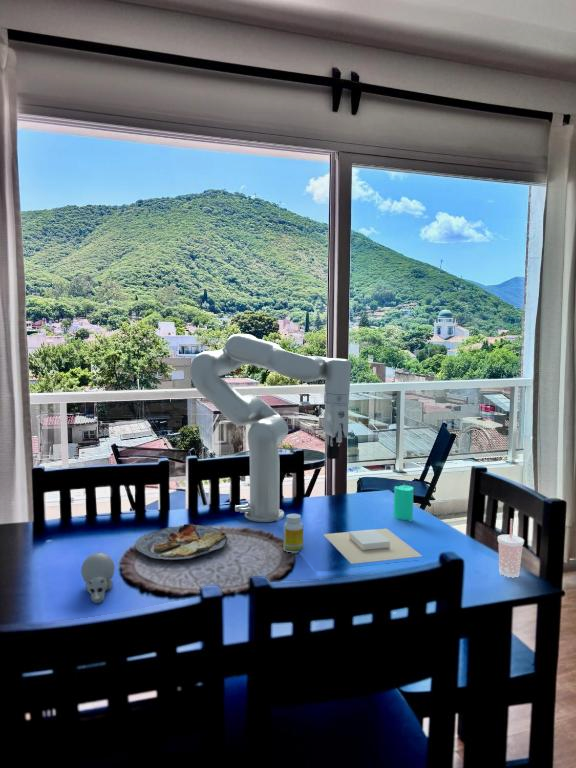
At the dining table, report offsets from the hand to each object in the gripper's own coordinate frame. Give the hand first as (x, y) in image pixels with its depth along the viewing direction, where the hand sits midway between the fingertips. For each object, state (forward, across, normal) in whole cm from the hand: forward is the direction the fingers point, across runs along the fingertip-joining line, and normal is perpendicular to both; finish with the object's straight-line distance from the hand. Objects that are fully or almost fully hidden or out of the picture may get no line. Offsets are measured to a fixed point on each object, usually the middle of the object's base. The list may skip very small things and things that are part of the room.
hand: (332, 458), depth 177 cm
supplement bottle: (+21, -18, +16) cm, 32 cm away
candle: (+20, -2, -24) cm, 32 cm away
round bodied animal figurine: (+23, -33, +66) cm, 78 cm away
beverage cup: (+18, -46, -31) cm, 59 cm away
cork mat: (+20, -22, -4) cm, 30 cm away
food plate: (+23, -8, +45) cm, 52 cm away
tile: (+18, -16, -4) cm, 25 cm away
